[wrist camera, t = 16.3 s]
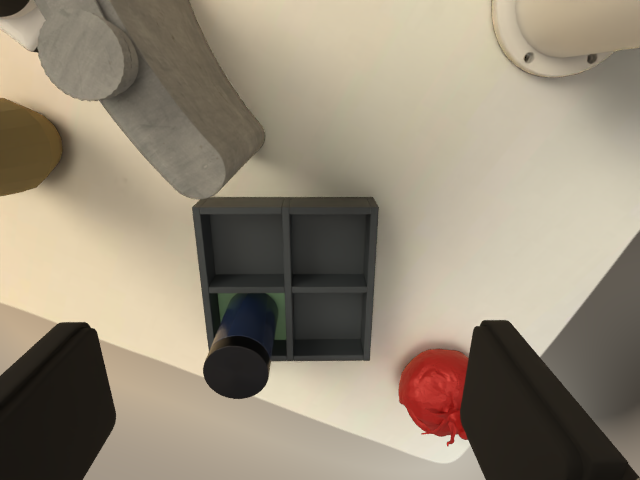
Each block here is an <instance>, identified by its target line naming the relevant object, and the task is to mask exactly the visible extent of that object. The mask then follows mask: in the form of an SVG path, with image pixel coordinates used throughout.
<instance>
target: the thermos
mask: <svg viewBox="0 0 640 480" xmlns="http://www.w3.org/2000/svg"><path fill="white" fill-rule="evenodd" d="M278 313H279V312H278V307H277V304H276V303H275V301H274V300H273V298H271V297H270V296H269V295H268V294H266V293H237V294H236V295H235V296H233V297H232V299H231V300H230V302H229V304H228V306H227V309H226V311H225V314H224V316H223V318H222V321H221V323H220V326H219V328H218V331H217V333H216V336H215V338H214V341H213V343H212V346H211V348H210V351H209V353H208V356H207V358H206V361H205V363H204V367H203V374H204V378H205V380H206V382H207V384H208V385H209V387H210V388H211V389H213V390H214V391H215V392H216V393H218V394H220V395H222V396H225V397H228V398H233V399H243V398H248V397H251V396H254V395H255V394H257V393H259V392H260V391H261V390H262V389H263V388H264V387H265V385H266V383H267V381H268V377H269V371H270V364H271V358H272V352H273V346H274V339H275V333H276V327H277V321H278Z"/></svg>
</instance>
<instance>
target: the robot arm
mask: <svg viewBox="0 0 640 480" xmlns="http://www.w3.org/2000/svg"><path fill="white" fill-rule="evenodd" d="M492 20H493V26H494V32H495V34H496V37H497V40H498V42H499V45H500V47H501V48H502V50H503V51H504V53H505V55H506V56H507V57H508V58H509V59H510V60H511V61H512V62H513V63H514V64H515V65H516V66H517V67H519V68H521V69H522V70H524V71H525V72H528V73H530V74H533V75H536V76H541V77H551V78H552V77H565V76H570V75H575V74H579V73H581V72H584V71H586V70H589V69H591V68H593V67H594V66H596V65H598V64H599V63H601V62H602V61H604V60H605V59H606V58H608V57H609V56H610V55H611V54H612V53H614V52H615V51H618V50H625V49H633V48H640V0H492ZM525 56H526V61H524V57H525ZM587 57H588V60H587ZM460 419H461V423H462V426H463V429H464V431H465V433H466V436H467V438H468V440H469V442H470V445H471V447H472V449H473V452H474V454H475V456H476V458H477V460H478V463H479V465H480V467H481V470H482V472H483V474H484V476H485V479H486V480H640V477H639V476H638V475H637V474H636V473H635V471H634V470H633V469H632V468H631V467H630V465H629V464H628V462H627V460H626V459H625V458H624V457H623V456H622V454H621V453H620V452H619V451H618V450H617V448H616V447H615V446H614V445H613V444H612V443H611V441H610V440H609V439H608V438H607V437H606V435H605V434H604V433H603V432H602V431H601V430H600V428H599V427H598V426H597V425H596V424H595V422H594V421H593V420H592V419H591V418H590V417H589V415H588V414H587V413H586V412H585V411H584V409H583V408H582V407H581V406H580V405H579V403H578V402H577V401H576V400H575V399H574V398H573V397H572V395H571V394H570V393H569V392H568V391H567V389H566V388H565V387H564V386H563V385H562V383H561V382H560V381H559V380H558V379H557V377H556V376H555V375H554V374H553V373H552V371H550V369H549V368H548V367H547V366H546V364H545V363H544V362H543V361H542V360H541V358H540V357H539V356H538V355H537V354H536V352H535V351H534V350H533V349H532V348H531V347H530V345H529V344H528V343H527V342H526V341H525V339H524V338H523V337H522V336H521V335H520V333H519V332H518V331H517V330H516V329H515V328H514V326H513V325H512V324H511V323H510V322H509V321H506V320H484V321H482V323H481V324H480V326H476V327H475V328H474V330H473V335H472V341H471V347H470V353H469V359H468V365H467V371H466V378H465V384H464V390H463V396H462V402H461V408H460ZM115 420H116V411H115V407H114V403H113V399H112V394H111V390H110V386H109V382H108V377H107V373H106V369H105V364H104V360H103V356H102V352H101V348H100V343H99V339H98V334H97V332H96V330H95V329H93V328H90V326H89V324H88V323H85V322H63V323H59V324H57V325H56V326H55V327H54V328H52V329H51V330H50V331H49V332H48V333H47V334H46V335H45V336H44V337H43V338H41V339H40V340H39V341H38V342H37V343H36V344H35V345H34V346H33V347H32V348H31V349H29V350H28V351H27V352H26V353H25V354H24V355H23V356H22V357H21V358H19V359H18V360H17V361H16V362H15V363H14V364H13V365H12V366H11V367H10V368H9V369H7V370H6V371H5V372H4V373H3V374H2V375H1V376H0V480H83V478H84V476H85V475H86V473H87V472H88V470H89V468H90V466H91V465H92V463H93V461H94V460H95V458H96V456H97V454H98V453H99V451H100V450H101V448H102V446H103V445H104V443H105V441H106V439H107V438H108V436H109V435H110V433H111V431H112V429H113V427H114V425H115Z"/></svg>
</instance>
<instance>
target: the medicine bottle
mask: <svg viewBox="0 0 640 480" xmlns="http://www.w3.org/2000/svg"><path fill="white" fill-rule="evenodd" d="M45 21H46V20H45V18H44V17H43V15H42V13H41V12H40V10H39V8H38V7H37V5H36V3H35V1H34V0H0V29H1V30H3V31H4V32H5V33H6V34H8V35H9V36H10V37H12V38H13V39H14V40H15V41H17V42H18V43H19V44H20V45H22V46H23V47H24V48H25V49H27V50H29V51H31V52H38V53H39V51H38V48H37V46H38V36H39V34H40V29H41V28H42V26H43V23H44V22H45Z"/></svg>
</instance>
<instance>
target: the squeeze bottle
mask: <svg viewBox="0 0 640 480" xmlns="http://www.w3.org/2000/svg"><path fill="white" fill-rule="evenodd" d="M62 152H63V149H62V141H61V137H60V135H59V133H58V131H57V130H56V128H55V126H54V125H53V124H52V123H51V122H50V121H49V120H48V119H47V118H46V117H45V116H43V115H41V114H39V113H37V112H35V111H33V110H31V109H28V108H26V107H23V106H21V105H19V104H16V103H14V102H12V101H9V100H7V99H4V98H0V196H4V195H9V194H15V193H20V192H23V191H26V190H29V189H32V188H36V187H37V186H38V185H39V184H40V183H41V182H42V181H43V180H44V179H45V178H46V177H47V176H48V175H49V174H50V172H51V171H52V170H53V169H54V168H55V166H56V165H57V164H58V163H59V162H60V158H61V155H62Z"/></svg>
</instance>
